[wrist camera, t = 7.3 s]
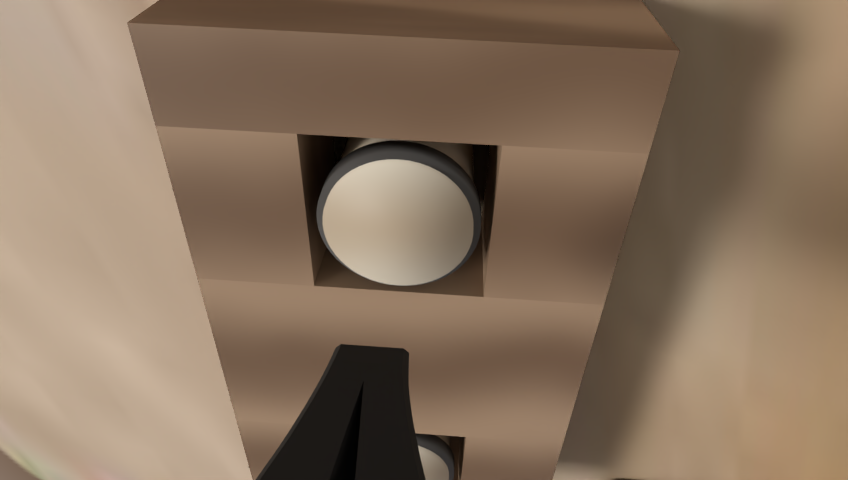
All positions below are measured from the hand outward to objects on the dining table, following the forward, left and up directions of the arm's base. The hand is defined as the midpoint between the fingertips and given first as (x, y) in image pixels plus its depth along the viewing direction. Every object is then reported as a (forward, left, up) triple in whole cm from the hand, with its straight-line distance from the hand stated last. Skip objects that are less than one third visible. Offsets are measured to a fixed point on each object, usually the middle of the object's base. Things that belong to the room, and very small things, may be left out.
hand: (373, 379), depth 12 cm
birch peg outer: (0, 0, -9) cm, 9 cm away
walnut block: (-6, 0, -9) cm, 11 cm away
